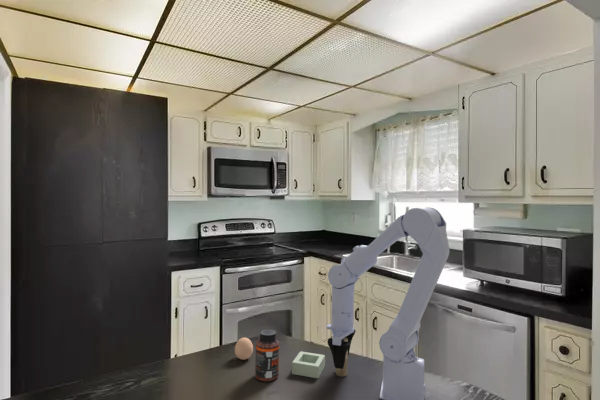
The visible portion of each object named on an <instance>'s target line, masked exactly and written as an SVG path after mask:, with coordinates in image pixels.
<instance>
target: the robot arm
mask: <svg viewBox="0 0 600 400" xmlns="http://www.w3.org/2000/svg"><path fill="white" fill-rule="evenodd" d="M409 236H410V237H411V238H412V239H413V240H414V241H415V243H416V244H417V246H418V247H419V249H420V251H421V252H422V255H421V258H420V259H419V260H420V261H419V262H418V265H417V267H416V270H415V272H414V275H413V276H412V277H413V278H412V280H411V282H410V284H409V286H408V288H407V289H408V290H407V292H406V294H405V297H404V299H403V301H402V304H401V306H400V309H399V311H398V313H397V315H396V316H395V318H394V319H393V321H392V322H391V324H390V325H389V327H388V330H387V331H386V332H384V333H383V334H381V336H380V338H379V340H378V341H379V342H378V344H379V349H380V351H381V353H382V354H383V358H382V359H383V360H382V361H383V362H382V363H383V364H382V366H383V367H382V380H381V387H380V393H379V398H380V400H425V394H426V384H425V359H424V358H421V357H418V356H416V352H415V347H416V346H418V344H419V340H420V336H419V333H420V332H419V331H420V328H421V325H422V324H421V321H422V318H423V316H424V313H425V311H426V309H427V307H428V304H429V302H430V299H431V297H432V295H433V293H434V290H435V288H436V286H437V284H438V281H439V279H440V276H441V274H442V271H443V270H444V267H445V266H446V263H447V260H448V258H449V256H450V251H451V250H450V246H449V241H448V240H449V238H448V233H447V222H446V220H445V219H444V217H443V215H442V214H441V213H440V211H438V209H436V208H434V207H424V208H423V207H422V208H420V207H414V208H413V207H412V208H410V209H407V211H405V213H404V214H402V215H400V216H397V218H396V219H395V220H394V221H393V222H392V223H391V224H390V225H389V226H388V227H386V228H385V229H384V230H383V231H382V232H381V233H380V234H379V235H378V236H377V237H376V238H374V240H373V241H371V243H369V244H368V245H364V244H360V245H356V246H354V247H353V248H352V252H351V253H350V254H349V255H348V256H346V257H342V259H340V264H333V265H332V266H331V268H329V269H328V273H327V279H328V281H329V284H330V285H331V319H330V320H331V321H330V322H331V323H329V324H326V329H327V330H330V331H331V335H332V337H328V339H327V346H328V347H329V349H330V351H331V356H332V360H333V365H334V368H335V369H336V368H339V369H343V367H344V364H345V358H346V353H347V350H348V357H349V354H350V349H351V344H352V341H353V337H354V335H355V334H356V332H357V331H356V329H355V327H354V320H355V319H354V316H355V315H354V312H355V311H354V309H355V307H354V305H355V304H354V303H355V285H356V283H357V282H358V281H359V278H360V277H361V276H363V274H365V273H366V272H367V271H369V270H370V269H371V268H372V267H373V266H375V265H376V264H377V261H378V255H380V254H382V253H383V252H384V251H385V250H386V249H388V248H390V247H391V246H392V245H393V244H395V243H396V242H397V241H399V240H400V239H401V238H404V237H409ZM344 337H345V338H347V339H348V342H345V341H344V340H343V338H344ZM348 357H347V359H348Z"/></svg>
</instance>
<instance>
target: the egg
mask: <svg viewBox="0 0 600 400" xmlns="http://www.w3.org/2000/svg"><path fill="white" fill-rule="evenodd" d="M234 353H235V356H236V357H237V359H239V360H242V361H243V360H244V361H245V360H248V359H249V358H250V357H251V356H252V355H253V353H254V344H253V343H252V341H251V339H249V338H248V337H241V338H239V340H237V342H236V344H235V346H234Z"/></svg>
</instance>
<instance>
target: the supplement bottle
mask: <svg viewBox="0 0 600 400" xmlns="http://www.w3.org/2000/svg"><path fill="white" fill-rule="evenodd" d="M255 343H256V344H255V364H254V365H255V366H254V367H255V369H254V370H255V371H254V373H255V374H254V376H255V378H256V379H257V380H259V381H260V382H272V381H275V380H276V379H277V378H278V377H279V372H280V340H278V339H277V331H276V330H273V329H264V330H261V331H260V332H259V339H257V341H256V342H255Z"/></svg>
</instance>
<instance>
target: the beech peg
mask: <svg viewBox="0 0 600 400" xmlns="http://www.w3.org/2000/svg"><path fill="white" fill-rule="evenodd" d="M343 340H344V341H345V342H348V339H347V338H345V337H344V338H343ZM347 357H349V355H348V350H347V353H346V358H345V364H344V367H343V369H339V368H335V375H336V376H338V377H346V376H347V375H348V358H347Z"/></svg>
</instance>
